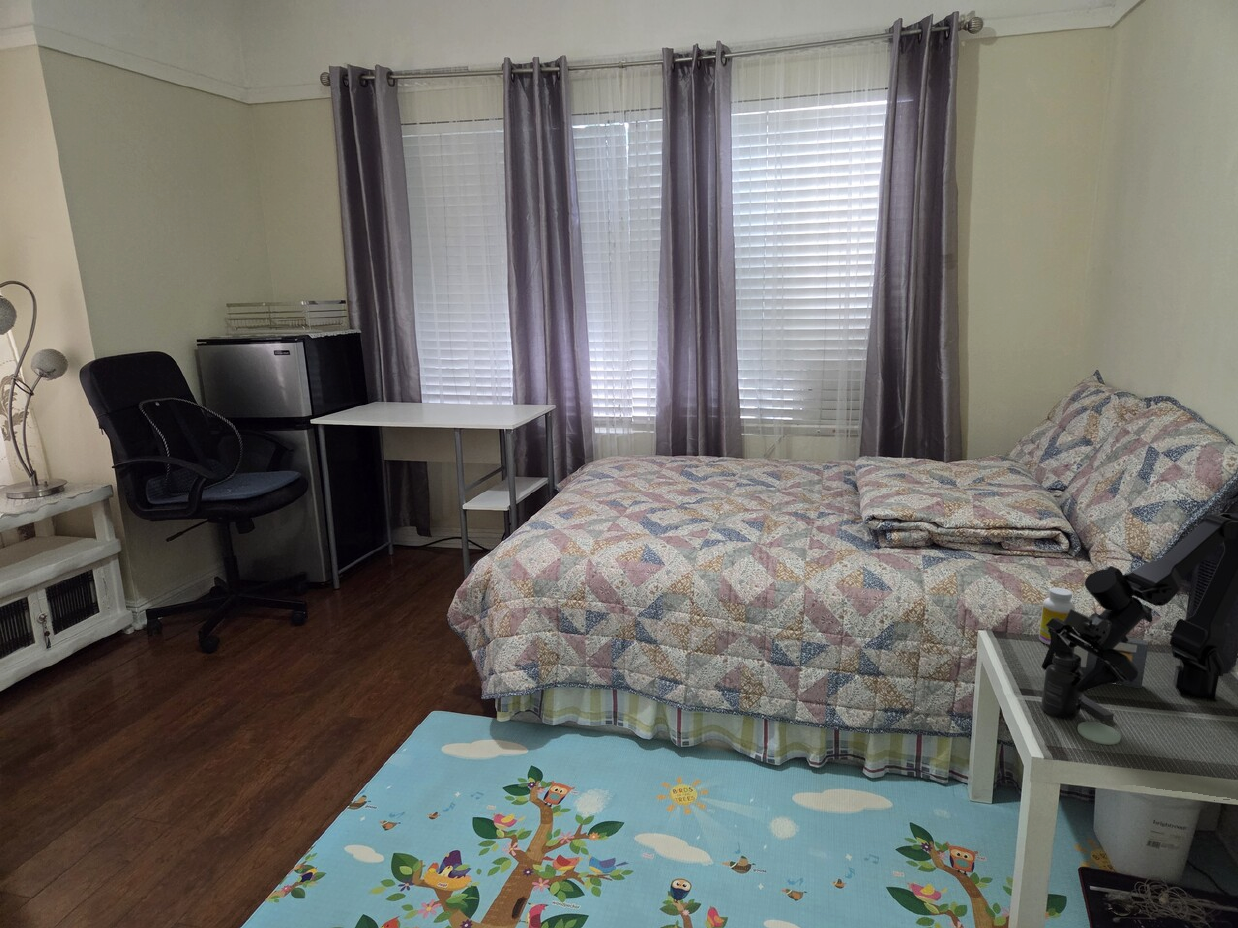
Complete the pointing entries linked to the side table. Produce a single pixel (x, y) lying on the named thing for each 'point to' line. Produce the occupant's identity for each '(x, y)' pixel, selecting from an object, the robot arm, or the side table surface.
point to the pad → (1099, 733)
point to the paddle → (1081, 655)
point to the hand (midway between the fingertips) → (1060, 679)
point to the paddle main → (1128, 656)
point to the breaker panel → (1132, 647)
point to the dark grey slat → (1096, 710)
